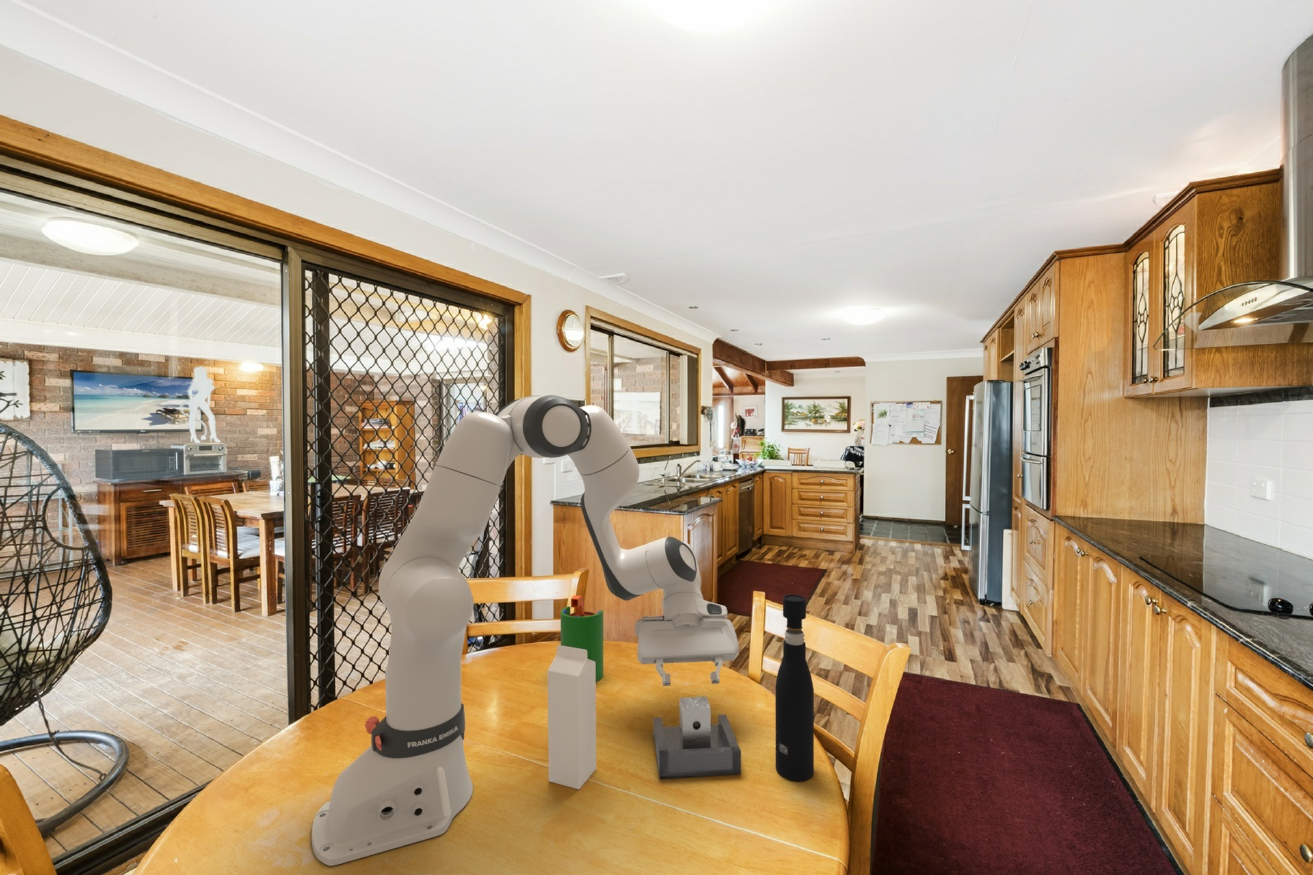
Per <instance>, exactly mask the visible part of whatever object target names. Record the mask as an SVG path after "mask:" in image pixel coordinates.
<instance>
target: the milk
mask: <svg viewBox="0 0 1313 875" xmlns="http://www.w3.org/2000/svg"><path fill="white" fill-rule="evenodd" d="M596 686H597V682H596V667H595V661H592V660H589V659H587V650H585V649H579V648H573V647H567V646H561V644H558V645H557V646H556V655H555V656H554V658H553V660H552V662H551V664H550V665H549V667H548V669H547V727H548V728H547V731H548V732H547V733H548V734H547V736H548V737H547V738H548V739H547V741H548V742H547V744H548V747H547V748H548V749H547V750H548V753H547V754H548V761H547V762H548V782H550V783H553V784H557V785H561V786H565V787H568V788H572V789H575V790H580V789H581V788H582V787H583V786H584V785H585V784H586V782H587V781H588V779H589V778H590V777H591V776H592V774H593V773H594V772H595V771H596V770H597V706H596V705H597V703H596V702H597V701H596V699H597V697H596V693H597V691H596V690H597V689H596V688H597V687H596Z"/></svg>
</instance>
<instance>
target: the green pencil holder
mask: <svg viewBox="0 0 1313 875" xmlns="http://www.w3.org/2000/svg"><path fill="white" fill-rule="evenodd" d="M571 608H574V609H575V610H574V612H572V613H571ZM560 645H561V646H567V647H573V648H579V649H585V650H587V659H589V660H592V661H595V667H596V683H597V682H599V681H600V680H602V678H604V610H603V609H602V610H599V611H597V613H595V612H591V611H585V602H584V596H583V595H577V594H576V595H573V596H572V597H571V598H570V606H566V607H563V608H562V609H561V610H560Z"/></svg>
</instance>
